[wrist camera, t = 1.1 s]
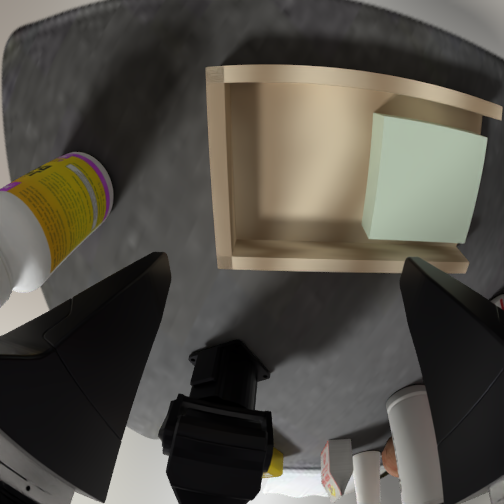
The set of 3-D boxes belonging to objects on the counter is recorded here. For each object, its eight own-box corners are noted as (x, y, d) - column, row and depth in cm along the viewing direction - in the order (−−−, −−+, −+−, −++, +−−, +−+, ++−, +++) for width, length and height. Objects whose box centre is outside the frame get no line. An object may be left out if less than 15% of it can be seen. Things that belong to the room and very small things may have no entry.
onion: (420, 404, 39) (458, 437, 30) (410, 439, 41) (441, 470, 32) (374, 429, 37) (411, 469, 28) (367, 462, 39) (397, 499, 30)
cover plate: (361, 224, 21) (368, 239, 19) (373, 112, 17) (384, 116, 15) (451, 229, 20) (464, 243, 18) (470, 131, 16) (487, 137, 14)
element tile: (167, 430, 43) (161, 454, 39) (245, 422, 38) (242, 451, 34) (217, 462, 49) (213, 482, 45) (287, 455, 45) (286, 478, 41)
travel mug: (439, 385, 32) (473, 517, 14) (407, 410, 35) (429, 534, 18) (409, 379, 31) (440, 529, 14) (376, 406, 34) (393, 543, 17)
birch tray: (224, 246, 23) (218, 268, 21) (216, 70, 17) (205, 67, 14) (450, 253, 22) (465, 273, 19) (479, 101, 15) (502, 106, 13)
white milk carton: (350, 438, 40) (355, 493, 31) (341, 453, 43) (343, 502, 34) (328, 439, 40) (330, 495, 31) (320, 454, 43) (321, 504, 35)
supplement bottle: (87, 133, 19) (-46, 198, 8) (131, 201, 22) (29, 310, 11) (42, 178, 21) (-65, 253, 10) (82, 237, 24) (-6, 335, 13)
